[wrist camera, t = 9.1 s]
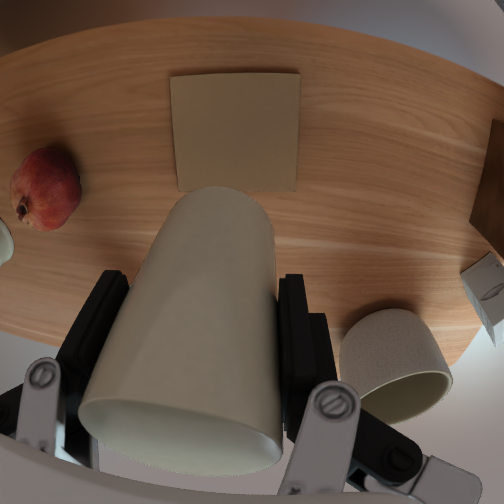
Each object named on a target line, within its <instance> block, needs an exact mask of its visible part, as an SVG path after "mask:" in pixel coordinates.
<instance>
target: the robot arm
mask: <svg viewBox="0 0 504 504" xmlns="http://www.w3.org/2000/svg"><path fill="white" fill-rule="evenodd" d="M129 288H130V287H129V284H128V281H127V277H126V276H125V275H122V272H121V271H119V270H105V271H104V272H103V273H102V275H101V277H100V278H99V280H98V282H97V283H96V285H95V287H94V288H93V290H92V292H91V293H90V295H89V297H88V298H87V300H86V302H85V304H84V305H83V307H82V309H81V311H80V312H79V314H78V316H77V318H76V320H75V321H74V323H73V325H72V327H71V329H70V331H69V333H68V334H67V336H66V338H65V340H64V342H63V344H62V346H61V348H60V350H59V352H58V354H57V356H56V358H55V359H53V358H51V357H44V358H40V359H38V360H36V361H34V362H33V363H32V364H31V365H30V366H29V368H28V369H27V372H26V375H25V379H24V383H23V384H21V385H19V386H17V387H15V388H13V389H11V390H9V391H7V392H5V393H4V394H2V395H0V504H478V502H479V500H480V497H481V494H482V490H483V489H482V483H481V481H480V479H479V478H478V477H477V476H476V475H474V474H472V473H470V472H468V471H465V470H463V469H461V468H458V467H456V466H454V465H452V464H450V463H447V462H445V461H443V460H441V459H439V458H437V457H435V456H433V455H431V456H430V457H428V456H426V455H424V454H422V451H421V449H420V448H419V446H418V445H417V444H416V443H415V442H414V441H412V440H411V439H409V438H408V437H406V436H404V435H403V434H401V433H399V432H398V431H396V430H395V429H393V428H392V427H390V426H389V425H387V424H385V423H384V422H382V421H381V420H379V419H378V418H376V417H375V416H373V415H372V414H370V413H369V412H367V411H366V410H364V409H363V408H361V399H360V397H359V394H358V393H357V391H356V390H355V389H354V388H353V387H352V386H350V385H349V384H347V383H344V382H341V381H338V379H337V373H336V367H335V361H334V356H333V350H332V345H331V339H330V334H329V329H328V324H327V319H326V315H325V313H308V306H307V299H306V293H305V286H304V280H303V275H302V274H286V277H285V278H280V279H279V293H278V315H279V337H280V362H281V390H282V415H283V423H284V431H287V438H288V439H289V440H291V441H292V442H293V443H294V444H295V445H294V448H293V451H292V454H291V457H290V460H289V463H288V466H287V468H286V471H285V474H284V477H283V480H282V482H281V485H280V488H279V490H278V493H277V495H245V494H226V493H213V492H203V491H195V490H187V489H179V488H173V487H167V486H161V485H155V484H150V483H145V482H140V481H135V480H131V479H127V478H123V477H119V476H115V475H111V474H107V473H104V472H100V470H99V454H98V440H97V439H96V438H94V437H93V436H92V435H91V434H90V433H89V432H88V431H87V430H86V429H85V428H84V427H83V425H82V424H81V422H80V420H79V418H78V408H79V405H80V403H81V400H82V397H83V395H84V392H85V389H86V387H87V384H88V382H89V379H90V377H91V374H92V372H93V369H94V367H95V364H96V362H97V359H98V357H99V355H100V352H101V350H102V348H103V345H104V343H105V341H106V338H107V336H108V334H109V331H110V329H111V327H112V325H113V323H114V320H115V318H116V316H117V314H118V312H119V309H120V307H121V305H122V303H123V301H124V299H125V297H126V295H127V293H128V291H129ZM345 481H346V482H347V483H348V484H350V485H351V486H353V487H354V488H356V489H357V490H359V491H360V492H343V489H344V485H345Z"/></svg>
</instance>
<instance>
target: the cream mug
mask: <svg viewBox="0 0 504 504" xmlns="http://www.w3.org/2000/svg"><path fill="white" fill-rule="evenodd" d="M78 418H79V420H80V422H81V424H82V425H83V427H84V428H85V429H86V430H87V431H88V432H89V433H90V434H91V435H92V436H93V437H94V438H96V439H97V440H98V441H100V442H101V443H102V444H104V445H106V446H107V447H109V448H111V449H112V450H114V451H116V452H118V453H120V454H122V455H124V456H126V457H128V458H131V459H133V460H136V461H138V462H141V463H143V464H147V465H150V466H153V467H156V468H160V469H164V470H169V471H173V472H178V473H185V474H191V475H200V476H201V475H202V476H235V475H243V474H249V473H254V472H257V471H261V470H264V469H267V468H269V467H271V466H273V465H274V464H276V463H277V462H278V461H279V460H280V459H281V457H282V455H283V415H282V390H281V362H280V337H279V315H278V293H277V274H276V257H275V240H274V230H273V225H272V223H271V220H270V218H269V216H268V214H267V213H266V211H265V210H264V209H263V207H262V206H261V205H260V204H259V203H258V202H257V201H255V200H254V199H253V198H251V197H250V196H248V195H246V194H245V193H242V192H240V191H238V190H234V189H231V188H226V187H206V188H201V189H198V190H195V191H192V192H190V193H188V194H186V195H185V196H183V197H182V198H181V199H180V200H179V201H177V202H176V203H175V205H174V206H173V207H172V209H171V210H170V212H169V214H168V216H167V218H166V219H165V221H164V223H163V225H162V227H161V228H160V230H159V232H158V234H157V236H156V238H155V240H154V241H153V243H152V245H151V247H150V249H149V251H148V253H147V255H146V257H145V259H144V260H143V262H142V264H141V266H140V268H139V270H138V272H137V274H136V276H135V278H134V280H133V282H132V284H131V286H130V288H129V291H128V293H127V295H126V297H125V299H124V301H123V303H122V305H121V307H120V309H119V312H118V314H117V316H116V318H115V320H114V323H113V325H112V327H111V329H110V331H109V334H108V336H107V338H106V341H105V343H104V345H103V348H102V350H101V352H100V355H99V357H98V359H97V362H96V364H95V367H94V369H93V372H92V374H91V377H90V379H89V382H88V384H87V387H86V389H85V392H84V395H83V397H82V400H81V403H80V405H79V408H78Z"/></svg>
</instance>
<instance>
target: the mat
mask: <svg viewBox="0 0 504 504" xmlns="http://www.w3.org/2000/svg"><path fill="white" fill-rule="evenodd" d="M170 92H171V109H172V123H173V136H174V148H175V159H176V170H177V180H178V189H179V192H192V191H195V190H198V189H201V188H206V187H226V188H231V189H234V190H238V191H264V192H295V191H296V174H297V155H298V133H299V107H300V74H293V73H256V72H251V73H214V74H198V75H185V76H175V77H170Z"/></svg>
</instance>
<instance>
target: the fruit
mask: <svg viewBox="0 0 504 504" xmlns="http://www.w3.org/2000/svg"><path fill="white" fill-rule="evenodd" d="M79 179H80V177H79V175H78V173H77V170H76V169H75V167H74V165H73V163H72V162H71V160H70V159H69V158H68V157H67V156H66V155H65V154H63V153H61V152H60V151H58V150H56V149H53V148H50V147H47V148H41V149H37V150H35V151H34V152H32V153H31V154H30V155H29V156H28V157H27V158H26V159H25V160H24V161H23V162H22V163H21V165H20V166H19V168H18V169H17V170H16V171H15V173H14V174H13V176H12V178H11V181H10V199H11V203H12V206H13V208H14V209H15V212H16V214H17V216H18V218H19V220H20V221H24V222H25V223H27V224H28V225H29V226H31V227H32V228H34V229H36V230H38V231H51V230H54V229H57V228H60V227H61V226H62V225H63V224H64V223H65V222H66V221H67V219H68V218H69V216H70V215H71V214H72V213H73V211H74V210H75V209H76V208H77V206H78V205H79V203H80V199H81V195H82V190H81V184H80V180H79Z"/></svg>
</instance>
